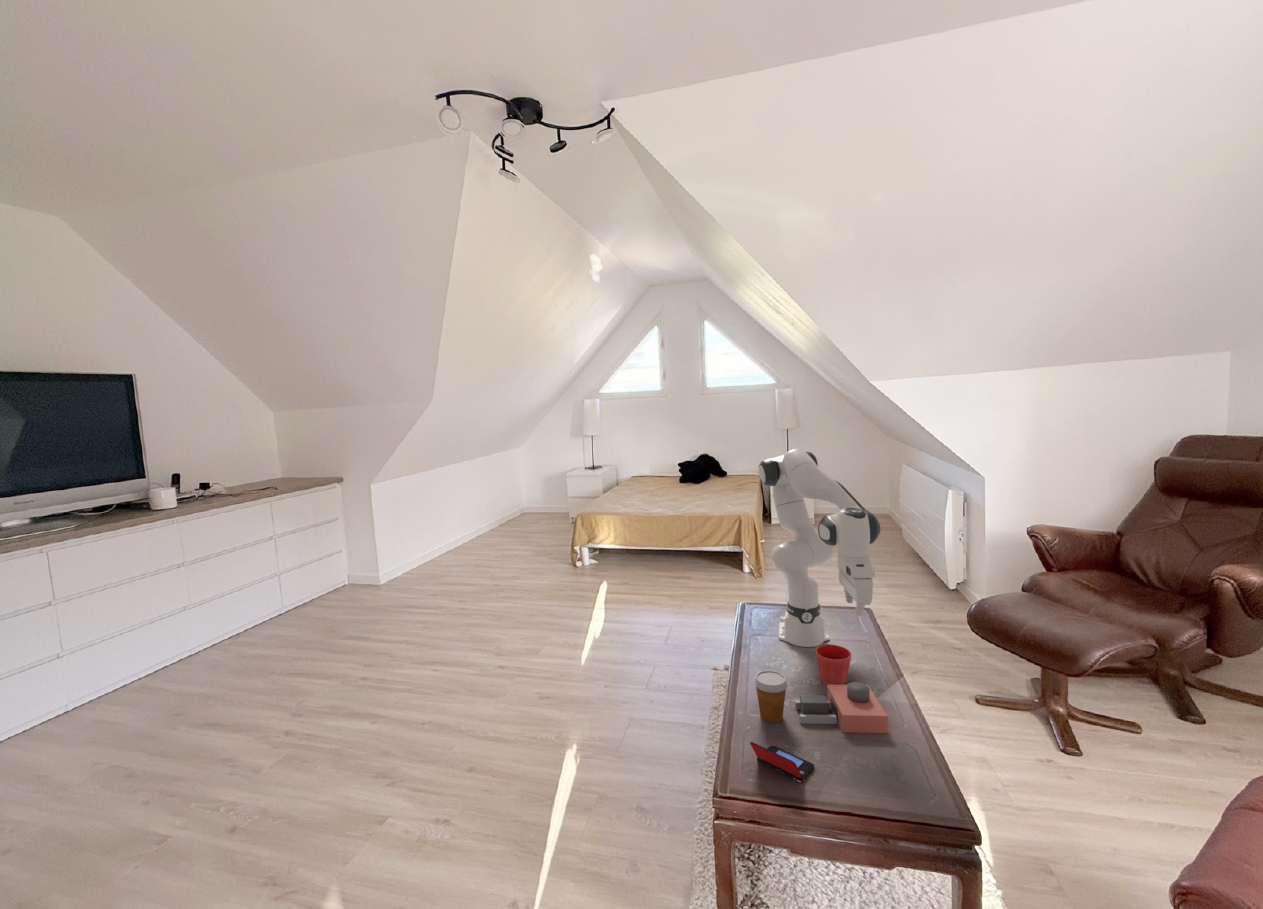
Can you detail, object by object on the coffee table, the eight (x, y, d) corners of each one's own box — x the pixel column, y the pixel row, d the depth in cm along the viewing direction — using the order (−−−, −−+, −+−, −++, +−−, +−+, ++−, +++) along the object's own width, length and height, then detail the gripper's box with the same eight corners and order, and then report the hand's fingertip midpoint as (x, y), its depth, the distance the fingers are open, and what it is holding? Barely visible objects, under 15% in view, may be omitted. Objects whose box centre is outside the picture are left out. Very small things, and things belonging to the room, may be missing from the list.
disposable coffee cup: (789, 709, 159) (788, 671, 158) (787, 728, 150) (786, 688, 149) (756, 705, 162) (755, 667, 161) (753, 723, 154) (752, 683, 152)
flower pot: (854, 689, 169) (854, 660, 168) (818, 687, 171) (817, 658, 170) (847, 672, 179) (847, 644, 178) (813, 670, 181) (813, 643, 180)
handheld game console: (816, 768, 134) (815, 741, 133) (795, 792, 127) (794, 762, 126) (771, 747, 143) (771, 721, 142) (749, 768, 135) (748, 740, 135)
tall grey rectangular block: (800, 711, 159) (800, 695, 158) (824, 711, 158) (824, 695, 157) (803, 719, 155) (803, 702, 154) (828, 719, 154) (828, 703, 154)
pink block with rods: (792, 699, 165) (791, 674, 164) (868, 700, 162) (868, 675, 162) (803, 731, 149) (803, 704, 148) (887, 733, 146) (887, 705, 146)
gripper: (833, 553, 169) (833, 595, 170) (853, 574, 149) (853, 622, 150) (853, 553, 168) (854, 595, 170) (876, 574, 148) (877, 621, 150)
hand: (854, 608), depth 160 cm, fingers open, 8 cm apart
